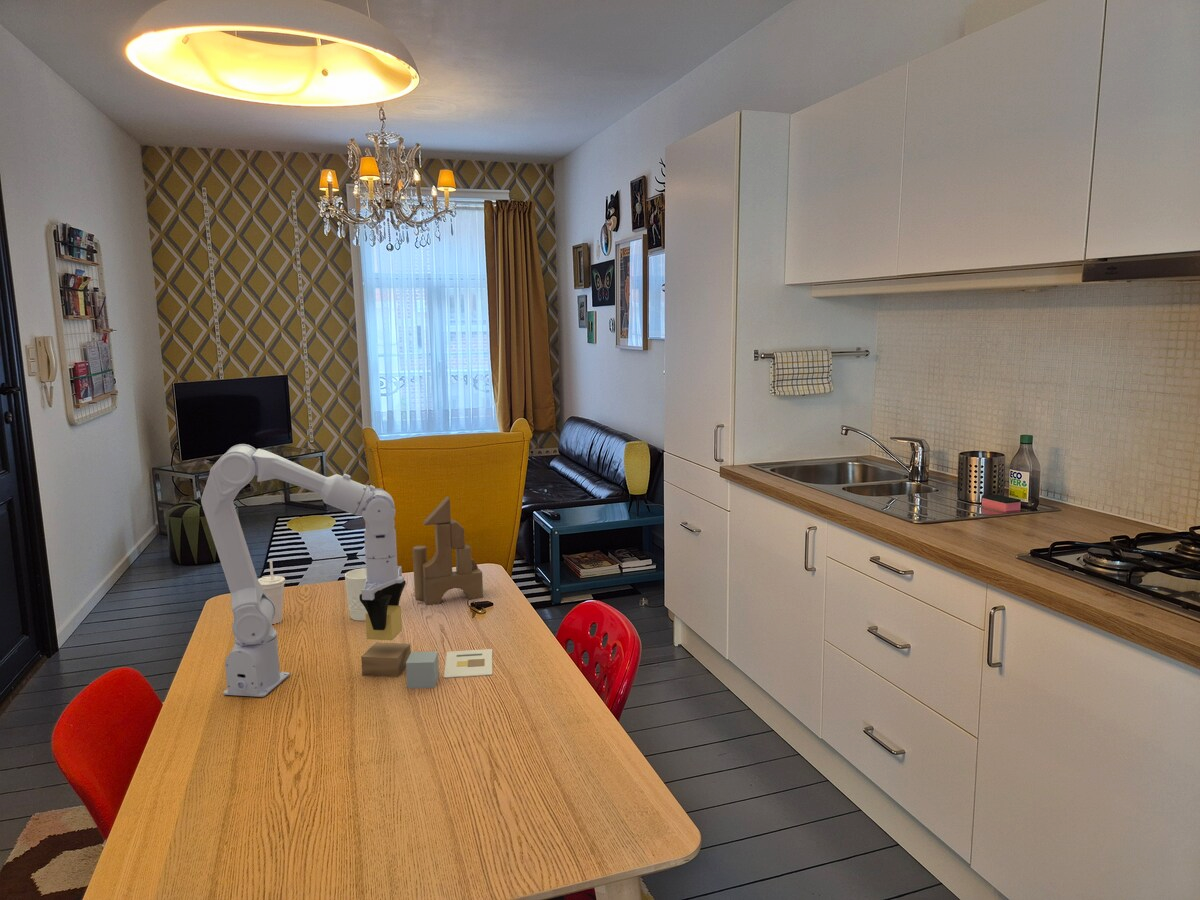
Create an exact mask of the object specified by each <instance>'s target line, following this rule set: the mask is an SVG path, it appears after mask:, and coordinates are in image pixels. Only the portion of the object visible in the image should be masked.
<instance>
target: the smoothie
mask: <svg viewBox="0 0 1200 900" xmlns="http://www.w3.org/2000/svg"><path fill="white" fill-rule="evenodd" d="M269 570H270V571H269V572H270V575H269V576H264V577H260V578H258V581H259V583H260V584H261V585H262V586H263V588H264V592H265V594H266V595H267V597H268V598H269V599H271V600H272V602H273V603H274V605H275V610H276V611H275V616H274V618H273V620H272V622H271V624H274V625H277V624H276V623H278V624H280V623H282V622H281V621H283V604H284V592H285V584H286V578H285V577H284V576H282V575H274V567H273V560H269ZM279 622H280V623H279Z"/></svg>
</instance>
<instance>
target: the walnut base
mask: <svg viewBox="0 0 1200 900" xmlns="http://www.w3.org/2000/svg"><path fill="white" fill-rule="evenodd" d="M411 650H412V649H411V643H400V642H399V643H398V642H379V641H378V642H377V641H376V642H375V643H374V644H372V646H370V647H369V648H368V650H366V651H365V652H364V653H363V655H362V656H360V658H361V674H362V676H364V677H379V678H380V677H382V678H384V677H385V678H399V677H400V676H401V674H403V672H404V671H405V670H406V662H407V660H408V658H409V655H410V653H411V652H412V651H411ZM362 676H361V677H362Z"/></svg>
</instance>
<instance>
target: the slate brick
mask: <svg viewBox="0 0 1200 900" xmlns="http://www.w3.org/2000/svg"><path fill="white" fill-rule="evenodd" d="M439 665H440V664H439V651H438V650H436V651H435V650H434V651H411V653H410V655H409V658H408V660H407V662H406V669H405V670H406V689H411V690H412V689H436V686H437V683H438V680H439V677H440V666H439Z"/></svg>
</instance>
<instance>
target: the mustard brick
mask: <svg viewBox="0 0 1200 900" xmlns="http://www.w3.org/2000/svg"><path fill="white" fill-rule="evenodd" d="M401 606H402V605H399V606H394V605H388V608H387V618H386V627H385V629H384V630H373V627H372V624H371V621H370V618H369V615H368V613H366V614H365V615H366V620H365V631H366V640H375V641H376V640H377V641H394V640H395V638H397V636H398V635H399V634H400V633H401V632H402V631H403V623H402V607H401Z"/></svg>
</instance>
